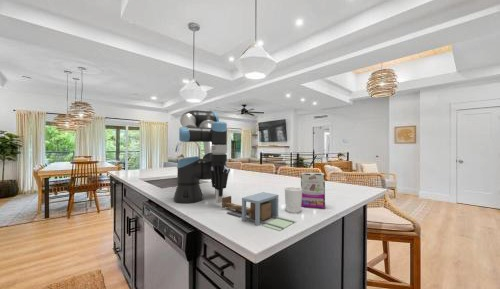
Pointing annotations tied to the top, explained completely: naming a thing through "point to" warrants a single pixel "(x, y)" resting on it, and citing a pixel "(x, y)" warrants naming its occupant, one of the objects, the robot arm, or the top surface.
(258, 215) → the tunnel
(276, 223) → the mat
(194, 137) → the robot arm
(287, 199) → the white cup
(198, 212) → the top surface
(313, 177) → the candy bar box
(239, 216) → the dark grey flat plate
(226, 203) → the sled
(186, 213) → the top surface
